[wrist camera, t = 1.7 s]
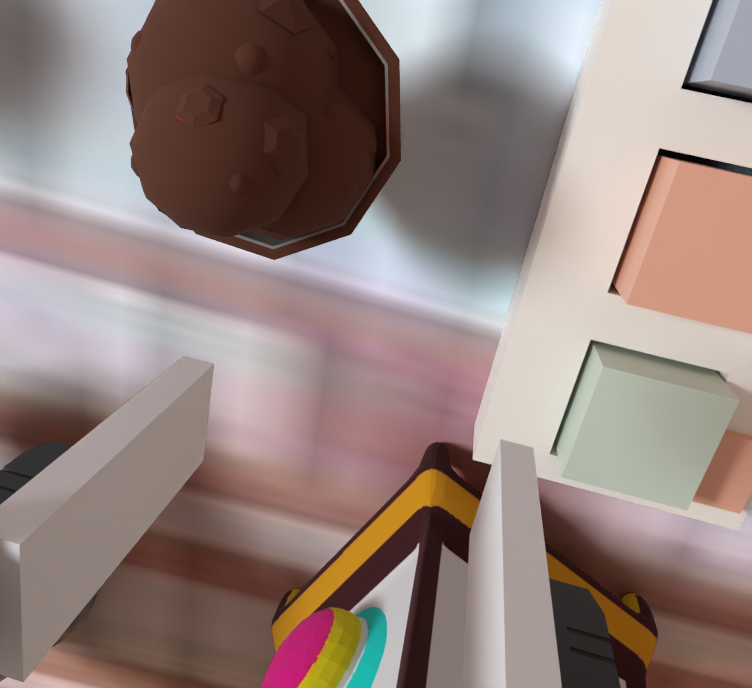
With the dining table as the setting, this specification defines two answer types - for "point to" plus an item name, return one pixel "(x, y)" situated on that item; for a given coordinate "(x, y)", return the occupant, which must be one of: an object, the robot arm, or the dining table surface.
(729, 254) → the terracotta key
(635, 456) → the sage key
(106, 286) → the dining table surface
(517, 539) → the robot arm
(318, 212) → the ice cream bowl
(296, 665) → the decorative lantern
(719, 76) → the slate key
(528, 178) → the dining table surface
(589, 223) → the console
